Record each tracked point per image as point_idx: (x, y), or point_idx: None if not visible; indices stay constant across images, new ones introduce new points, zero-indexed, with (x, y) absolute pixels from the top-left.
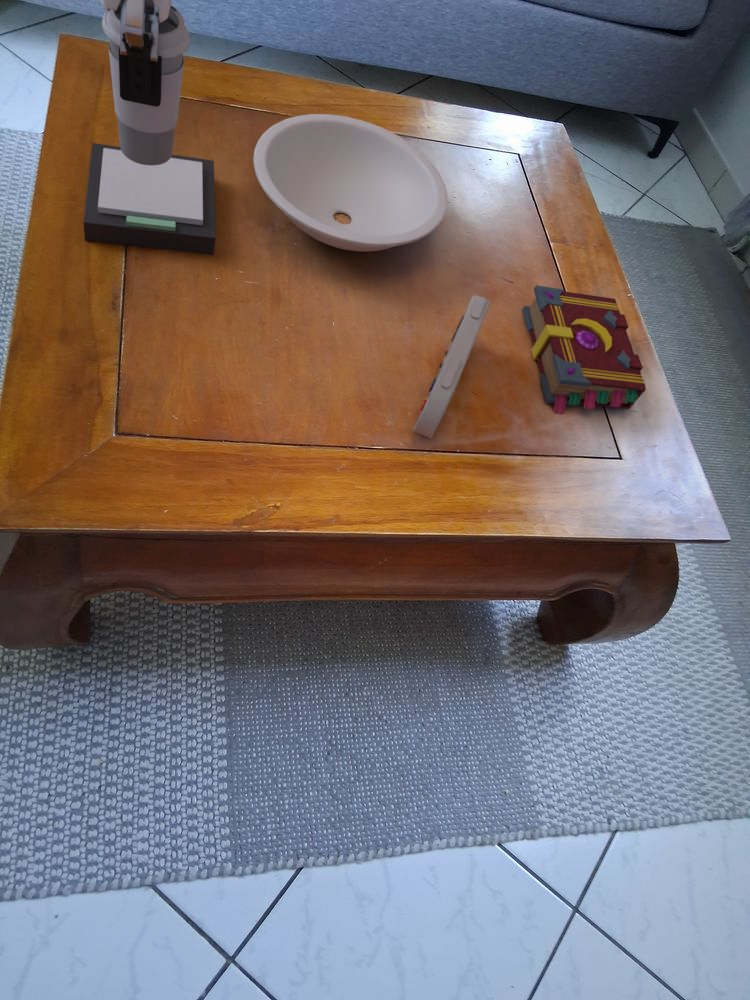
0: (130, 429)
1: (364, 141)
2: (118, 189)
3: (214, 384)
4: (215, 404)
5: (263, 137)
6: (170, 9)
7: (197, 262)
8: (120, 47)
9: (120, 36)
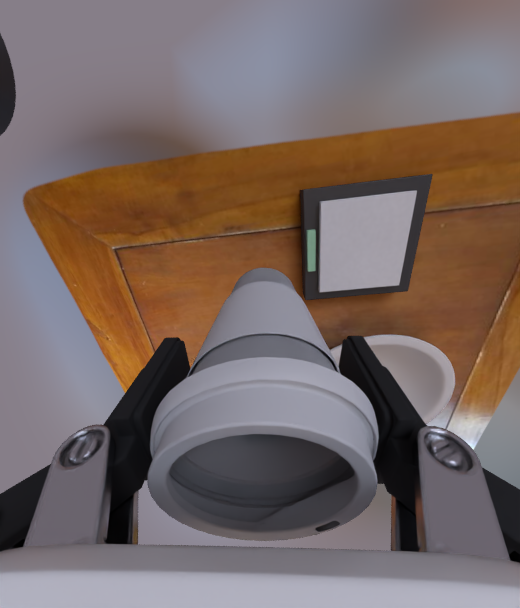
0: (122, 257)
1: (424, 400)
2: (349, 217)
3: (179, 302)
4: (164, 304)
5: (416, 342)
6: (323, 520)
7: (292, 282)
8: (57, 454)
9: (44, 485)
